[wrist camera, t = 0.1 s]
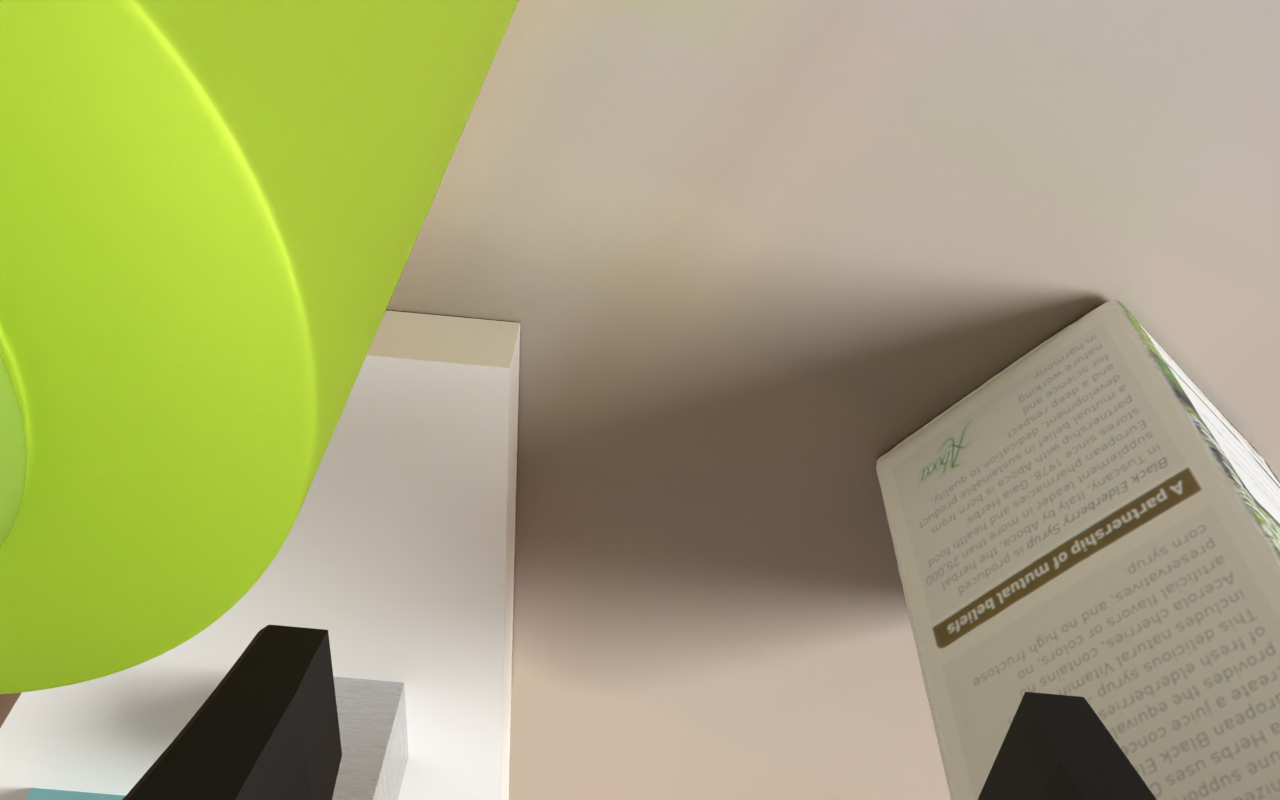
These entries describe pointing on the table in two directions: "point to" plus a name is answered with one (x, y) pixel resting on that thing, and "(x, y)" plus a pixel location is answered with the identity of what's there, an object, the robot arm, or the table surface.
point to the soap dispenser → (195, 289)
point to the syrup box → (1095, 563)
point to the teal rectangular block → (68, 795)
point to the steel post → (371, 739)
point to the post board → (352, 582)
